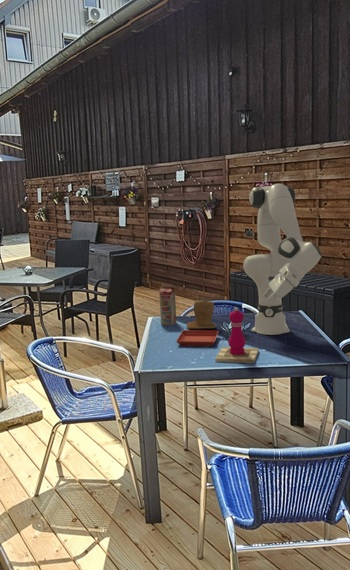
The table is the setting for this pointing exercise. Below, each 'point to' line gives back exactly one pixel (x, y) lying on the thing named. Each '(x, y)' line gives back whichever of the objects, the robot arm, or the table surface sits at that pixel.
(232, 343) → the pepper mill
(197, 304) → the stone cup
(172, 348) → the table surface
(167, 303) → the juice carton
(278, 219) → the robot arm
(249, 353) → the birch board
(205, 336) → the plant saucer
